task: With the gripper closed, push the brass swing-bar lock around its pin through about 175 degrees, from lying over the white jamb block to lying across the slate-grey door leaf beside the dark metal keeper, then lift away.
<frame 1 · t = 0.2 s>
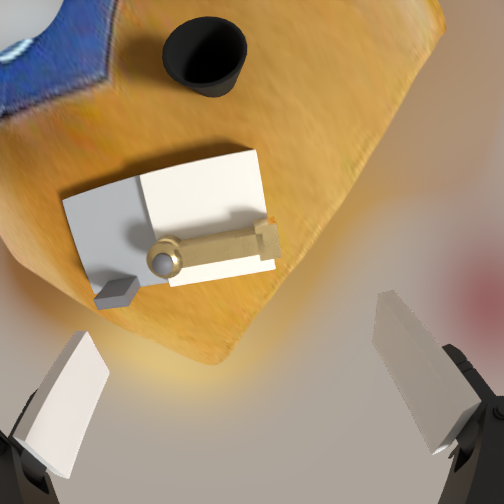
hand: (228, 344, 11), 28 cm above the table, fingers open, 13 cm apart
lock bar: (211, 248, 33), point 6 cm above the table, hinge at 0.0°
doorframe: (177, 238, 39), on the table
cup: (214, 78, 31), on the table
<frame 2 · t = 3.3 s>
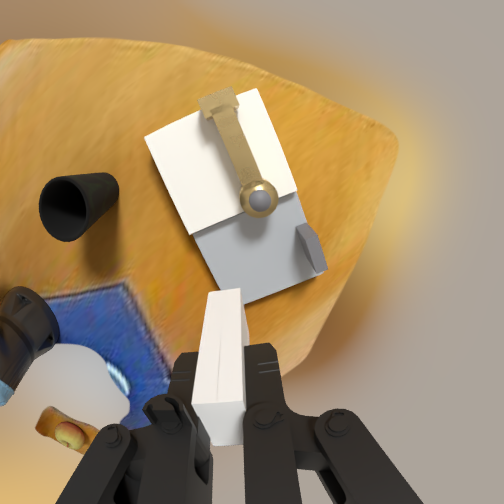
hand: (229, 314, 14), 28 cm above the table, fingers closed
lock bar: (240, 154, 31), point 6 cm above the table, hinge at 0.0°
doorframe: (253, 188, 39), on the table
apple: (73, 426, 60), on the table
cup: (103, 190, 38), on the table
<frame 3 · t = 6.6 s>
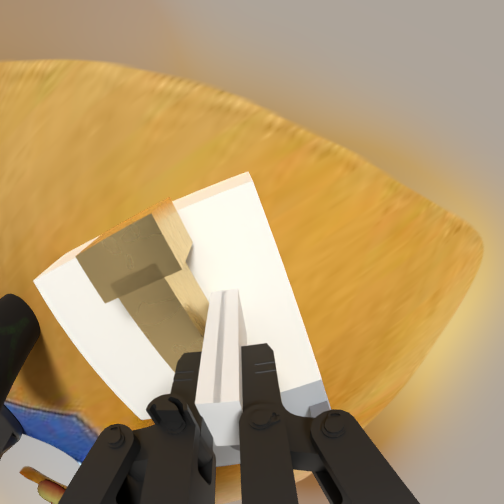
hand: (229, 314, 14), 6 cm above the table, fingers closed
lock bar: (205, 355, 14), point 7 cm above the table, hinge at 3.2°, touching gripper
doorframe: (244, 346, 22), on the table
apple: (55, 483, 43), on the table
cup: (20, 317, 20), on the table
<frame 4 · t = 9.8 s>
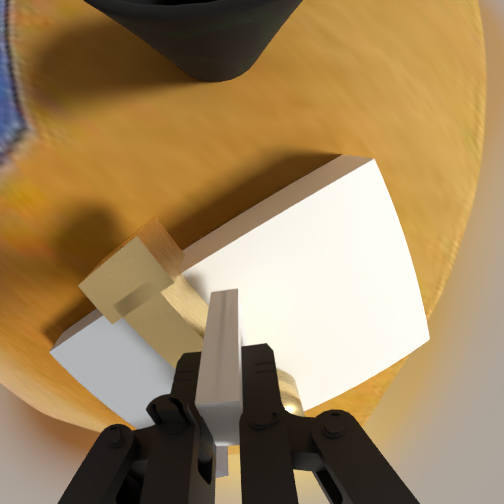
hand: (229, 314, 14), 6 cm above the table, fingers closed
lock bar: (215, 359, 15), point 6 cm above the table, hinge at 91.8°, touching gripper
doorframe: (258, 345, 22), on the table
cup: (216, 45, 14), on the table
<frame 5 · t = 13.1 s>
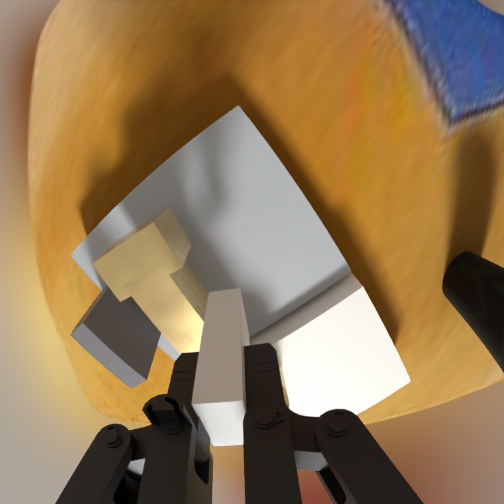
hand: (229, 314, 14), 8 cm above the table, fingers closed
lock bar: (210, 342, 16), point 7 cm above the table, hinge at 172.3°
doorframe: (249, 336, 24), on the table
cup: (459, 275, 24), on the table
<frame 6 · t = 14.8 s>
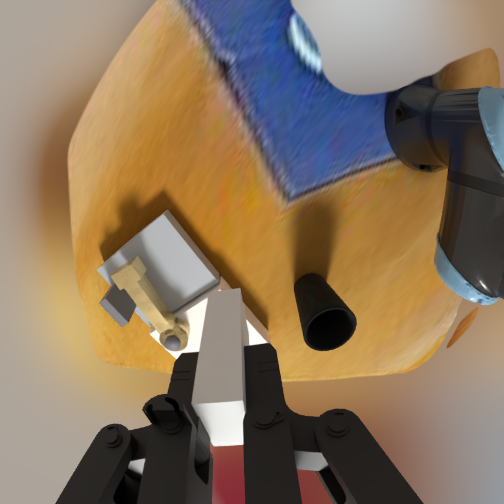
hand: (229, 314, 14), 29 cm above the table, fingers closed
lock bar: (154, 308, 39), point 6 cm above the table, hinge at 172.3°
doorframe: (180, 311, 47), on the table
cup: (309, 287, 48), on the table
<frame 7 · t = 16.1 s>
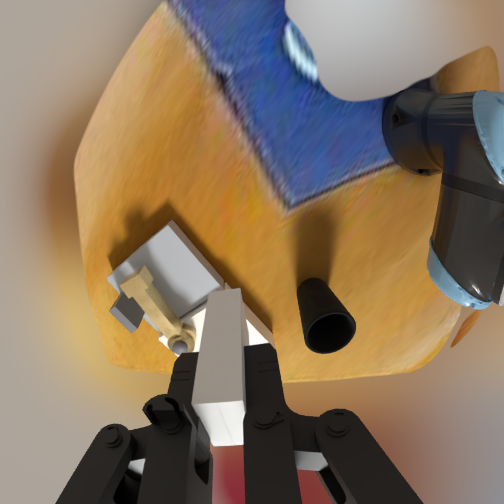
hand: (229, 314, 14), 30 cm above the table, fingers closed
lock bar: (161, 314, 41), point 7 cm above the table, hinge at 172.3°
doorframe: (187, 316, 49), on the table
cup: (312, 291, 49), on the table
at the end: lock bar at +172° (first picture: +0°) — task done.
